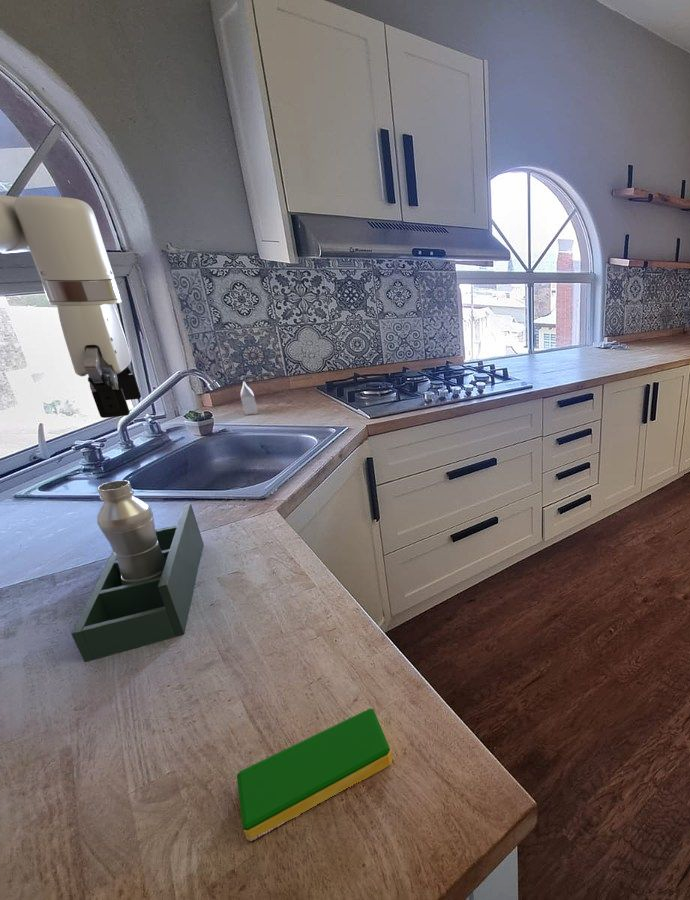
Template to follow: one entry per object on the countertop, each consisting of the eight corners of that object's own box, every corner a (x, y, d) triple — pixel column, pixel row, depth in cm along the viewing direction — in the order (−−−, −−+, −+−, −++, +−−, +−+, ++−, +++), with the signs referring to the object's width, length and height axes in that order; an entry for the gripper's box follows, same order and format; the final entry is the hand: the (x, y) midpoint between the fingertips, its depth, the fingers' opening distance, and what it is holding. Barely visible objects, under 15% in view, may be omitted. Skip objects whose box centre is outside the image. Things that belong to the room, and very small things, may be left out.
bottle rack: (84, 662, 69) (59, 610, 66) (128, 559, 91) (112, 516, 88) (184, 634, 75) (166, 584, 71) (203, 544, 97) (190, 502, 93)
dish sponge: (241, 787, 54) (236, 771, 53) (375, 720, 62) (372, 706, 61) (248, 845, 49) (242, 829, 48) (393, 764, 57) (390, 749, 56)
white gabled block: (256, 408, 174) (250, 380, 170) (258, 413, 169) (251, 384, 165) (244, 409, 172) (237, 381, 168) (245, 415, 167) (237, 386, 163)
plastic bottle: (168, 576, 87) (131, 472, 79) (186, 590, 84) (149, 483, 76) (120, 596, 82) (76, 487, 74) (138, 611, 79) (93, 499, 71)
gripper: (65, 288, 76) (103, 396, 82) (24, 299, 63) (73, 427, 69) (130, 287, 80) (161, 391, 86) (105, 298, 66) (144, 419, 73)
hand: (122, 407), depth 78 cm, fingers open, 9 cm apart
